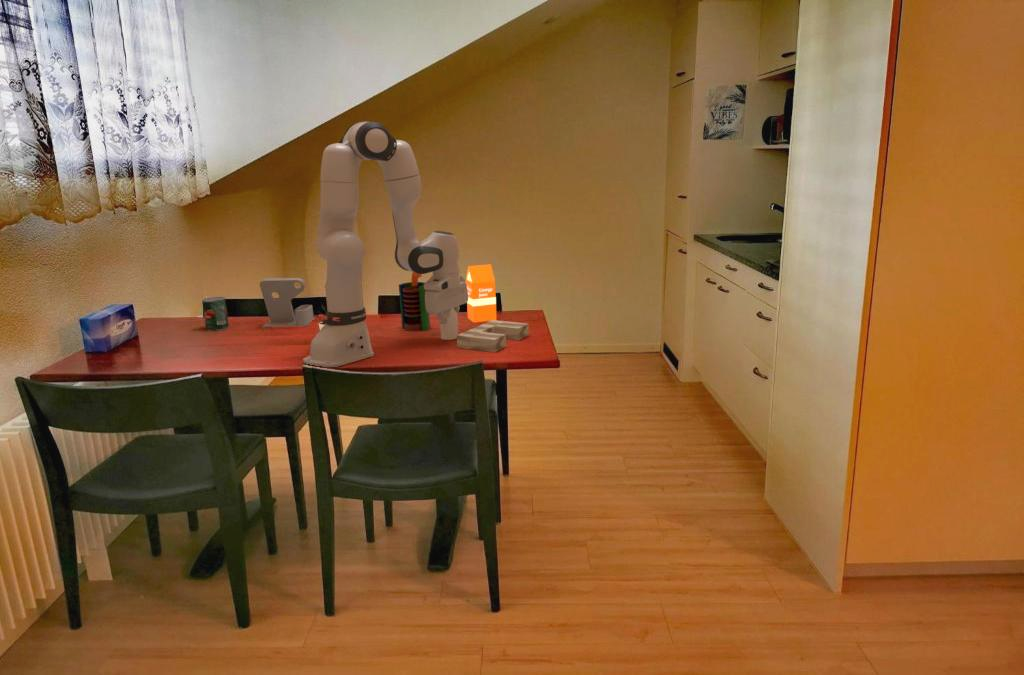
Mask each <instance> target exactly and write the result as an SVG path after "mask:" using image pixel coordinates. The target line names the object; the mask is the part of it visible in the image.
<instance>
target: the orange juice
mask: <svg viewBox="0 0 1024 675" xmlns="http://www.w3.org/2000/svg"><path fill="white" fill-rule="evenodd" d="M494 275H495V274H494V272H493V266H492V264H491V263H489V264H479V265H468V268H467V272H466V278H465V283H466V285H467V290H468V302H467V303H466V306H467V308H466V309H467V319H468V320H470V321H471V322H472V323H481V322H489V321H491V320H497V296H496V280H495V276H494ZM497 321H498V320H497Z"/></svg>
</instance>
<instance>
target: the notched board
mask: <svg viewBox="0 0 1024 675" xmlns="http://www.w3.org/2000/svg"><path fill="white" fill-rule="evenodd" d="M529 335H530V329H529V323H524V322H515V321H505V320H491V321H486V322H484V323H482V324H480V325H478V326H476V327H474V328H473V327H472V328H471V329H468V330H466V331H463V332H460V333H458V335H457V339H456V346H457V348H459V349H466V350H468V349H469V350H475V351H481V352H489V353H497V352H498V351H500V350H503V349H505V348H507V340H513V341H520V340H522V339H525V338H526V337H529Z"/></svg>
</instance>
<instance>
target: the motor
mask: <svg viewBox="0 0 1024 675" xmlns="http://www.w3.org/2000/svg"><path fill="white" fill-rule="evenodd" d="M419 278H422V274H417V273H414V272H411V281H410V282H404V283H400V284H398V294H399V304H400V305H399V306H400V315H401V316H400V317H401V318H400V319H401V327H402V329H404V330H405V331H408V332H418V331H422V332H423V331H427V330H429V329H430V328H431V319H430V318H431V317H430V314H429V313H427V311H426V307H425V293H426V291H427V290H425V289H424V284H425V283H426V282H424V281H418V280H419Z"/></svg>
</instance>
